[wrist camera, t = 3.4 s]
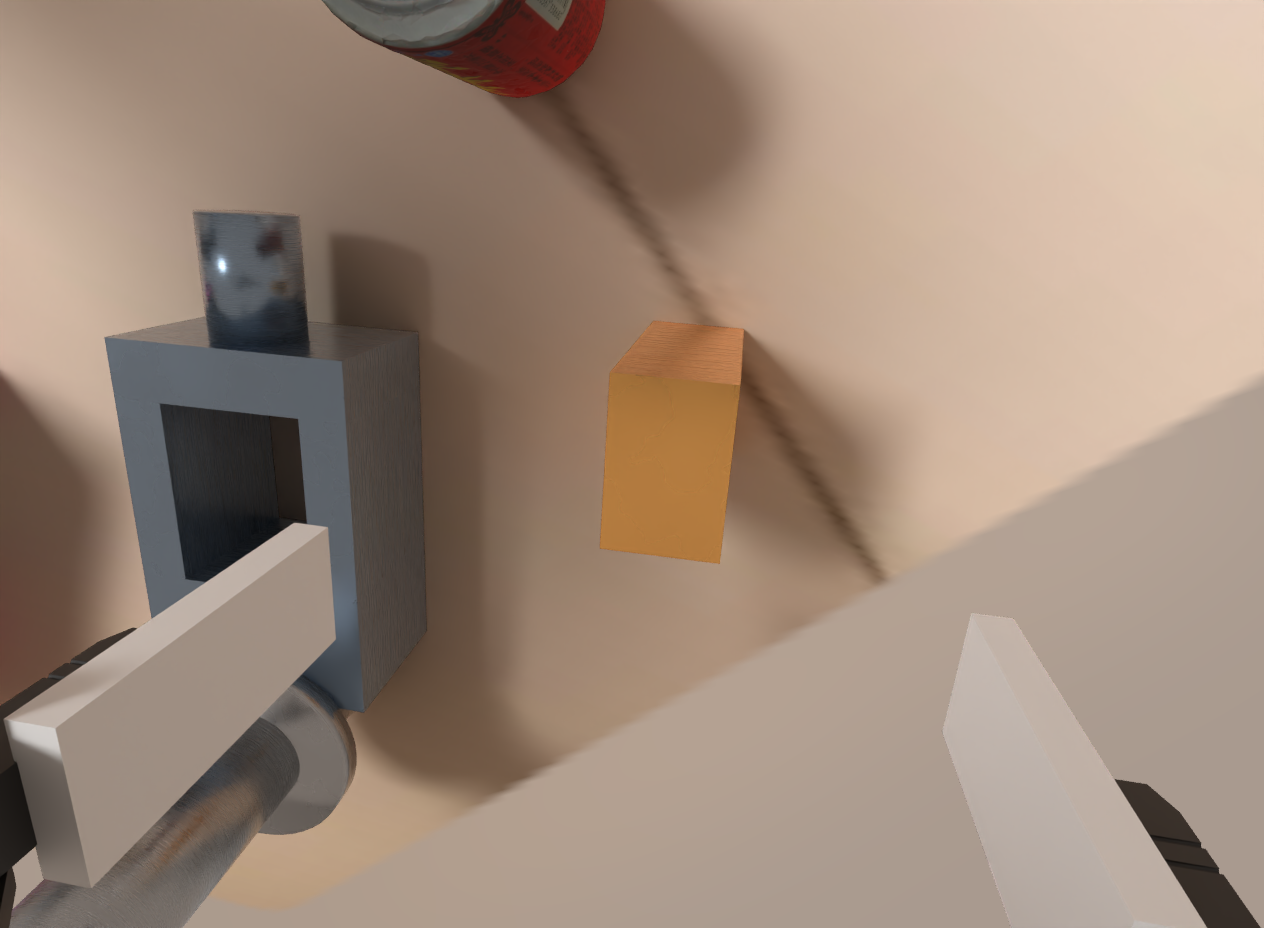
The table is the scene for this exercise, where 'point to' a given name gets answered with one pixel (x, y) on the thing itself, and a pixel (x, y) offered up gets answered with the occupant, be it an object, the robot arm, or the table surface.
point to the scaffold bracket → (245, 519)
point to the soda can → (483, 37)
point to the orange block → (671, 441)
